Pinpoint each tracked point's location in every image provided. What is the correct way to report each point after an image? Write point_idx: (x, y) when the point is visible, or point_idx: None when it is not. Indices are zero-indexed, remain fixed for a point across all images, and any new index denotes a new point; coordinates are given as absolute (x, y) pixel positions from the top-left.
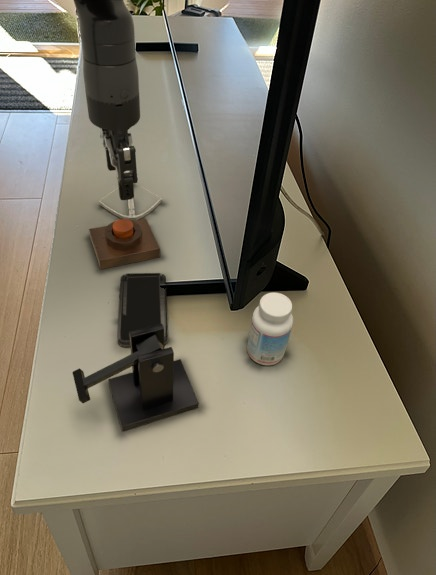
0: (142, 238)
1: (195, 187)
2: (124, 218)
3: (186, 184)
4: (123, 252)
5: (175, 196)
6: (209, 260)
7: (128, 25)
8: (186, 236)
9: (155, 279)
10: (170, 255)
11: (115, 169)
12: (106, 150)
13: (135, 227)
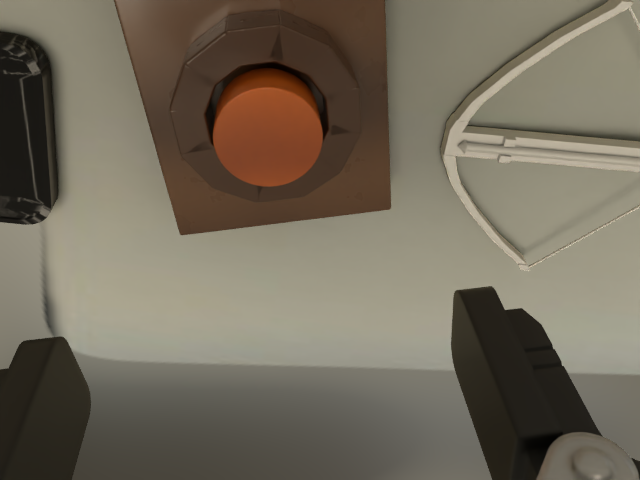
0: None
1: None
2: (463, 105)
3: (587, 341)
4: (163, 86)
5: (535, 302)
6: (156, 348)
7: None
8: (294, 304)
9: (14, 185)
10: (193, 242)
11: (455, 327)
12: (546, 437)
13: None
